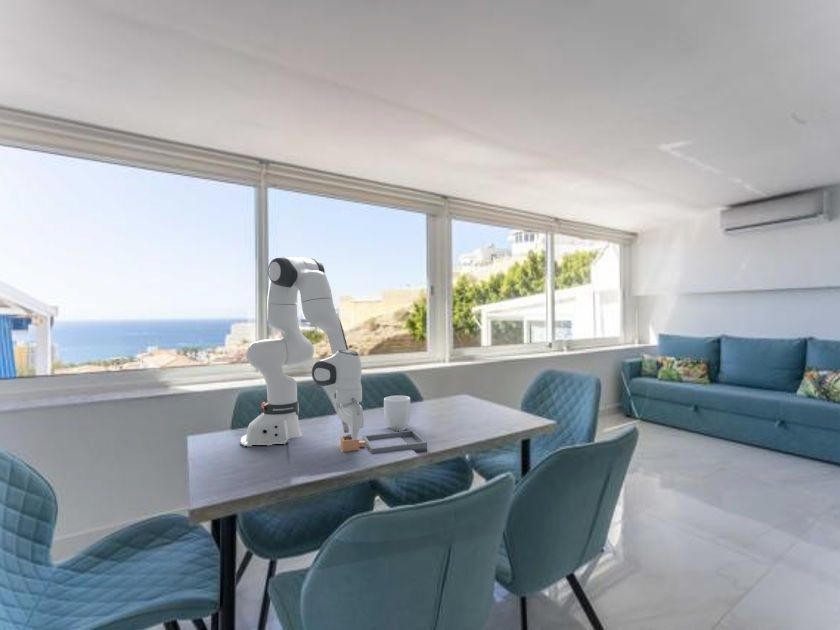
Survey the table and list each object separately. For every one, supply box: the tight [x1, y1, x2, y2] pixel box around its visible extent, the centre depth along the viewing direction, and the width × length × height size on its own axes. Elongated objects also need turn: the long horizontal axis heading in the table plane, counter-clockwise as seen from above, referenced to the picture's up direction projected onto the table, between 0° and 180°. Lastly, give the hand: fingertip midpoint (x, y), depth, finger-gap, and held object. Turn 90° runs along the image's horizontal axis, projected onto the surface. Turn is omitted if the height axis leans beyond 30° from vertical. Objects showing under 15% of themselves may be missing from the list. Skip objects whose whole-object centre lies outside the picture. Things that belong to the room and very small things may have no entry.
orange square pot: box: [338, 433, 362, 453], centre depth 150 cm, size 7×7×6 cm
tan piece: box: [340, 435, 366, 453], centre depth 150 cm, size 8×6×4 cm
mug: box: [383, 395, 411, 432], centre depth 179 cm, size 15×11×13 cm
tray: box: [361, 429, 428, 454], centre depth 155 cm, size 20×16×3 cm
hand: (350, 435), depth 149 cm, fingers open, 8 cm apart
